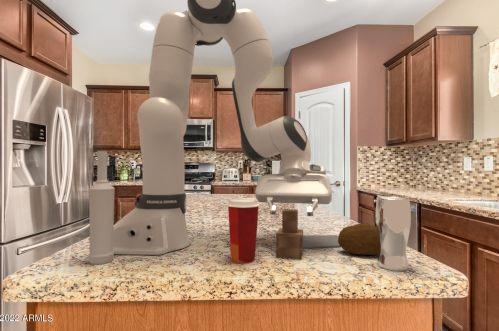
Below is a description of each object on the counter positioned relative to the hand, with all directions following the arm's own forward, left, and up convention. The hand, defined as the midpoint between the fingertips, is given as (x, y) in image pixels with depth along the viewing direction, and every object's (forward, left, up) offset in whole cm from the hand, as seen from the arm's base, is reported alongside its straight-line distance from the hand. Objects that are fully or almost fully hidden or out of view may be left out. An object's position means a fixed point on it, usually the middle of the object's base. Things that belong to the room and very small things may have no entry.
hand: (291, 214), depth 74 cm
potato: (+18, -3, -10) cm, 21 cm away
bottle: (-45, -1, -10) cm, 46 cm away
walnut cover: (-1, -2, -10) cm, 10 cm away
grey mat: (+11, +9, -10) cm, 17 cm away
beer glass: (+19, -13, -10) cm, 25 cm away
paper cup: (-13, -4, -10) cm, 17 cm away
